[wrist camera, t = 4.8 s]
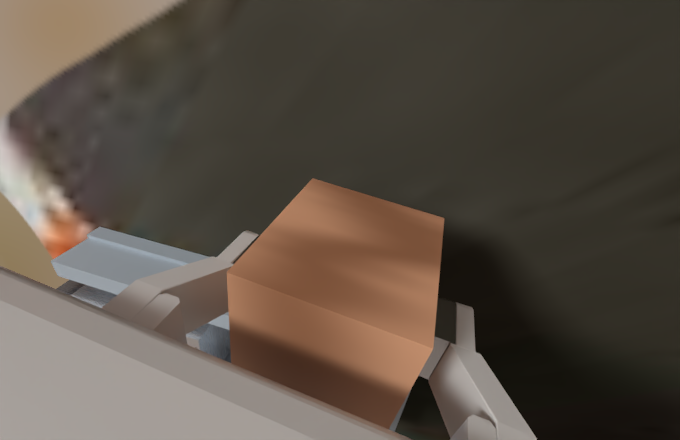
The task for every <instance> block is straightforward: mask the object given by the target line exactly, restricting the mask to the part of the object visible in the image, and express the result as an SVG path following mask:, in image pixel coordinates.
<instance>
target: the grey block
mask: <svg viewBox="0 0 680 440" xmlns="http://www.w3.org/2000/svg"><path fill="white" fill-rule="evenodd" d="M56 290H59V291H61V292H63V293H66V294H68V295H71V296H73V297H75V298H78V299H80V300H82V301H85V302H87V303H90V304H92V305H94V306H97V307H99V308H102V307H103V306H104V305H106V304H107V303H108V302H109V301H111V300H112V299H113V298H114V297H116V296H117V294H113V293H110V292H107V291H104V290H101V289H98V288H94V287H91V286H88V285H85V284H82V283H79V282H75V281H72V280H69V281H67V282H66V283H64V284H63V285H62V286H60V287H59V288H57V289H56ZM186 340H187V345H189V346H192V347H194V348H196V349H199V350H201V351H203V352H206V353H208V354H211V355H213V356H215V357H218V358H220V359H222V360H225V358H226V357H227V355H228V354H229V352H230V330H228V329H225V328H221V327H218V326H215V325H212V324H209V323H206V324H205V325H203V326H201V327H199V328H197V329H195V330H193V331H191V332H190V333H188V334H186Z"/></svg>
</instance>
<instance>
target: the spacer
mask: <svg viewBox="0 0 680 440" xmlns="http://www.w3.org/2000/svg"><path fill="white" fill-rule="evenodd" d="M443 229H444V218H442V217H439V216H435V215H432V214H429V213H425V212H422V211H419V210H416V209H412V208H409V207H406V206H402V205H399V204H396V203H392V202H389V201H386V200H382V199H379V198H376V197H373V196H369V195H366V194H363V193H359V192H356V191H353V190H349V189H346V188H343V187H339V186H336V185H333V184H330V183H326V182H323V181H320V180H316V179H313V178H312V180H311V181H310V182H309V183H308V184H307V185H306V186H305V187H304V188H303V189H302V190H301V192H300V193H299V194H298V195H297V196H296V197H295V198H294V199H293V200H292V201H291V203H290V204H289V205H288V206H287V207H286V208H285V209H284V210H283V211H282V212H281V213H280V215H279V216H278V217H277V218H276V219H275V220H274V221H273V222H272V223H271V224H270V225H269V227H268V228H267V229H266V230H265V231H264V232H263V233H262V234H261V235H260V236H259V237H258V239H257V240H256V241H255V242H254V243H253V244H252V245H251V246H250V247H249V248H248V249H247V251H246V252H245V253H244V254H243V255H242V256H241V257H240V258H239V259H238V260H237V261H236V263H235V264H234V265H233V266H232V267H231V268H230V269H229V270H228V271H227V290H228V310H229V330H230V350H231V363H232V364H234V365H237V366H239V367H241V368H244V369H246V370H248V371H251V372H253V373H256V374H258V375H260V376H263V377H265V378H267V379H270V380H272V381H275V382H277V383H279V384H282V385H284V386H286V387H289V388H291V389H294V390H296V391H298V392H301V393H303V394H305V395H308V396H310V397H313V398H315V399H317V400H320V401H322V402H324V403H327V404H329V405H332V406H334V407H336V408H339V409H341V410H343V411H346V412H348V413H351V414H353V415H355V416H358V417H360V418H362V419H365V420H367V421H370V422H372V423H374V424H377V425H379V426H382V427H384V428H386V429H389V428H390V426H391V424H392V423H393V421H394V419H395V417H396V415H397V414H398V412H399V410H400V408H401V406H402V404H403V403H404V401H405V399H406V397H407V395H408V394H409V392H410V390H411V388H412V386H413V385H414V383H415V381H416V379H417V377H418V376H419V374H420V372H421V370H422V368H423V366H424V365H425V363H426V361H427V359H428V357H429V356H430V354H431V352H432V350H433V347H434V335H435V323H436V311H437V299H438V288H439V276H440V264H441V252H442V240H443Z"/></svg>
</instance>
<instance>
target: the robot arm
mask: <svg viewBox="0 0 680 440" xmlns="http://www.w3.org/2000/svg"><path fill="white" fill-rule="evenodd" d="M259 236H260V235H258V234H256V233H253V232H250V231H248V230H247V231H244V232H243V233H242V234H240V235H239V236H238V237H237V238H236V239H235V240H234V241H233V242H232V243H231V244H230V245H229V246H228V247H227V248H226V249H225V250H224V251H223V252H222V253H221V254H220V255H219V256H218V257H217V258H216V257H213V256H212V257H209V258H206V259H203V260H199V261H196V262H193V263H189V264H186V265H183V266H180V267H176V268H173V269H170V270H166V271H163V272H160V273H157V274H153V275H150V276H147V277H143V278H140V279H137V280H135V281H134V282H133V283H132V284H130V285H129V286H128V287H127V288H125V289H124V290H123V291H122V292H120V293H119V294H118V295H117V296H116V297H114V298H113V299H112V300H111V301H109V302H108V303H107V304H106V305H104V306H103V307H102V308H99V307H97V306H94V305H92V304H90V303H87V302H85V301H82V300H80V299H78V298H75V297H73V296H71V295H68V294H66V293H63V292H61V291H59V290H56V289H54V288H52V287H49V286H47V285H45V284H42V283H40V282H37V281H35V280H33V279H30V278H28V277H26V276H23V275H21V274H18V273H16V272H14V271H11V270H9V269H7V268H4V267H2V266H0V440H412V439H410V438H408V437H405V436H403V435H401V434H398V433H396V432H393V431H391V430H389V429H386V428H384V427H382V426H379V425H377V424H374V423H372V422H370V421H367V420H365V419H362V418H360V417H358V416H355V415H353V414H351V413H348V412H346V411H343V410H341V409H339V408H336V407H334V406H332V405H329V404H327V403H324V402H322V401H320V400H317V399H315V398H313V397H310V396H308V395H305V394H303V393H301V392H298V391H296V390H294V389H291V388H289V387H286V386H284V385H282V384H279V383H277V382H275V381H272V380H270V379H267V378H265V377H263V376H260V375H258V374H256V373H253V372H251V371H248V370H246V369H244V368H241V367H239V366H237V365H234V364H232V363H229V362H227V361H225V360H222V359H220V358H218V357H215V356H213V355H211V354H208V353H206V352H203V351H201V350H199V349H196V348H194V347H192V346H189V345H187V340H186V334H188V333H190V332H191V331H193V330H195V329H197V328H199V327H201V326H203V325H205V324H206V323H208V322H210V321H212V320H214V319H216V318H218V317H219V316H221V315H223V314H225V313H227V312H229V310H228V290H227V271H228V270H229V269H230V268H231V267H232V266H233V265H234V264H235V263H236V261H237V260H238V259H239V258H240V257H241V256H242V255H243V254H244V253H245V252H246V251H247V249H248V248H249V247H250V246H251V245H252V244H253V243H254V242H255V241H256V240H257V239H258V237H259ZM419 376H421V377H423V378H425V379H428V380H429V381H428V382H429V385H430V387H431V390H432V392H433V395H434V397H435V400H436V403H437V405H438V408H439V410H440V413H441V415H442V418H443V420H444V423H445V426H446V428H447V431H448V433H449V436H450V438H451V439H450V440H537V438H536V437H535V435H534V434H533V432H532V431H531V429H530V428H529V426H528V425H527V423H526V422H525V420H524V419H523V417H522V416H521V414H520V412H519V411H518V409H517V408H516V406H515V405H514V403H513V402H512V400H511V399H510V397H509V396H508V394H507V393H506V391H505V390H504V388H503V387H502V385H501V384H500V382H499V381H498V379H497V378H496V376H495V375H494V373H493V372H492V370H491V369H490V367H489V366H488V364H487V363H486V361H485V360H484V358H483V357H482V355H481V354H479V353H476V349H475V328H474V310H473V308H472V307H469V306H466V305H463V304H460V303H457V302H453V301H450V300H447V299H444V298H441V297H438V299H437V311H436V323H435V335H434V347H433V350H432V352H431V354H430V356H429V357H428V359H427V361H426V363H425V365H424V366H423V368H422V370H421V372H420V374H419Z"/></svg>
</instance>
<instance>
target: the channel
mask: <svg viewBox="0 0 680 440" xmlns="http://www.w3.org/2000/svg"><path fill="white" fill-rule="evenodd" d="M87 237H88V239H86V240H85V241H83V242H81V243H80V244H78V245H76V246H75V247H73V248H71V249H70V250H68V251H66V252H65V253H63V254H62V255H60V256H58V257H57V258H55V259H53V260H52V261H51V263H52V265H53V267H54V269H55V271H56V273H57V275H58V276H60V277H63V278H66V279H69V280H72V281H75V282H79V283H82V284H85V285H88V286H91V287H94V288H98V289H101V290H104V291H107V292H110V293H113V294H117V295H118V294H119V293H120V292H122V291H123V290H124V289H125V288H127V287H128V286H129V285H130V284H132V283H133V282H134V281H135V280H137V279H140V278H143V277H147V276H150V275H153V274H157V273H160V272H163V271H166V270H170V269H173V268H176V267H180V266H183V265H186V264H189V263H193V262H196V261H199V260H203V259H206V258H209V257H208V256H204V255H201V254H197V253H193V252H190V251H186V250H182V249H179V248H175V247H172V246H168V245H164V244H161V243H157V242H153V241H150V240H146V239H143V238H139V237H135V236H132V235H128V234H124V233H121V232H117V231H114V230H110V229H106V228H103V227H99V228H97V229H95V230H94V231H92V232H90V233H89V234H87ZM208 323H209V324H212V325H215V326H218V327H221V328H225V329H228V330H229V312H227V313H225V314H223V315H221V316H219V317H218V318H216V319H214V320H212V321H210V322H208ZM225 361H227V362H229V363H231V350H230V352H229V354H228V355H227V357H226V358H225ZM410 391H411V390H410ZM409 394H410V392H409ZM409 394H408V395H407V397H406V399H405V401H404V403H403V404H402V406H401V408H400V410H399V412H398V414H397V415H396V417H395V419H394V421H393V423H392V424H391V426H390V428H389V430H391V431H393V432H395V429H396V427H397V424H398V422H399V419H400V416H401V414H402V411H403V409H404V406H405V404H406V401H407V399H408V396H409Z"/></svg>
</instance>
